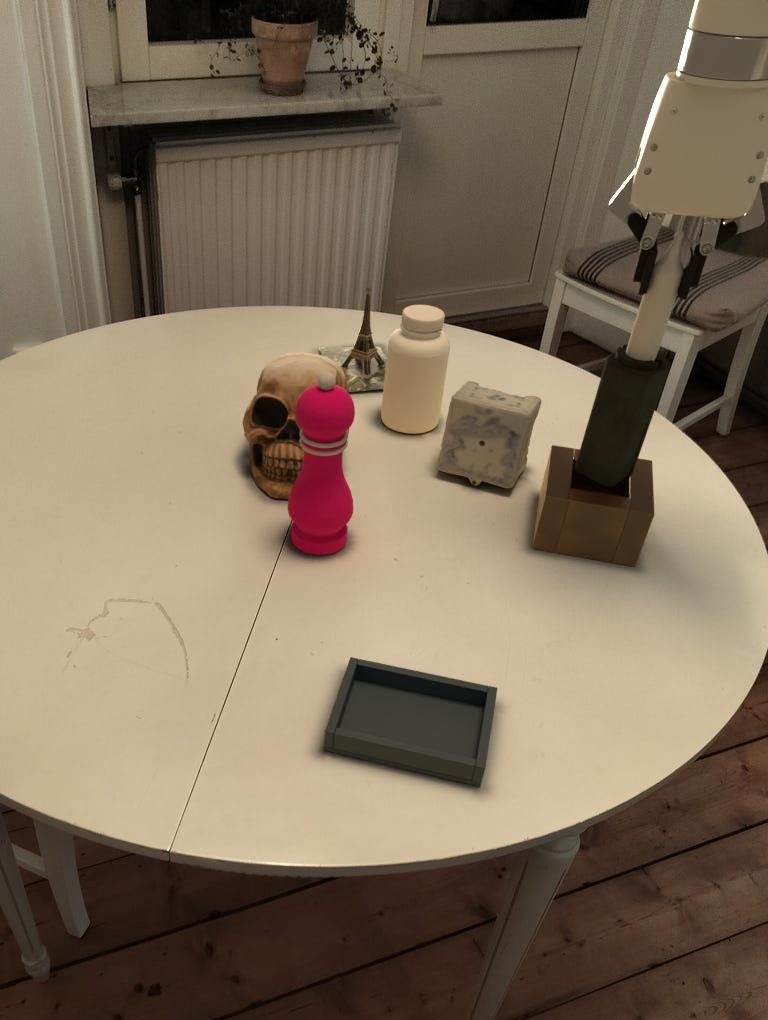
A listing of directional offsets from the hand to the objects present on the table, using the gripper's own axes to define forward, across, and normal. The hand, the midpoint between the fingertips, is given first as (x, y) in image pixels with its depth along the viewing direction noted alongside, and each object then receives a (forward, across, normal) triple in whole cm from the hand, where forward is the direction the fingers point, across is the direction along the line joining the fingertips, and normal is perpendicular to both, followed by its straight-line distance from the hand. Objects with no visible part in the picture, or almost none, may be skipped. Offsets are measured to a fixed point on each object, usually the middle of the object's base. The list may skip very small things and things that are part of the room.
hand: (661, 290), depth 81 cm
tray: (+28, +15, +36) cm, 47 cm away
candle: (+20, 0, 0) cm, 20 cm away
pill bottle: (+27, +25, -19) cm, 42 cm away
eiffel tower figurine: (+27, +35, -32) cm, 55 cm away
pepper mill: (+28, +30, +11) cm, 42 cm away
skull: (+27, +37, -5) cm, 46 cm away
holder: (+28, +1, 0) cm, 28 cm away
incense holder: (+28, +14, -9) cm, 32 cm away
